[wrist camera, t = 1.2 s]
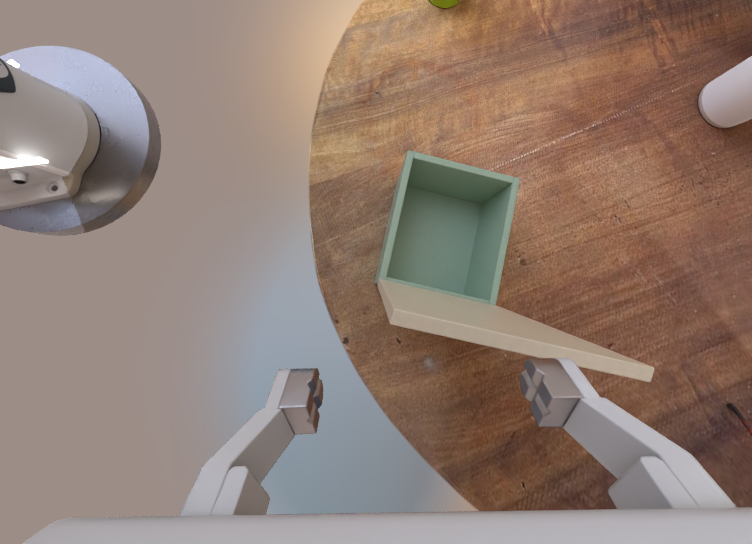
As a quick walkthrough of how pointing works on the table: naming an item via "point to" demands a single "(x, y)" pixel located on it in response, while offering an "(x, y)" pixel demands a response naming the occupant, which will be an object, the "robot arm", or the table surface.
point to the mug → (728, 97)
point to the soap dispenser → (444, 3)
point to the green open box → (448, 228)
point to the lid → (498, 329)
